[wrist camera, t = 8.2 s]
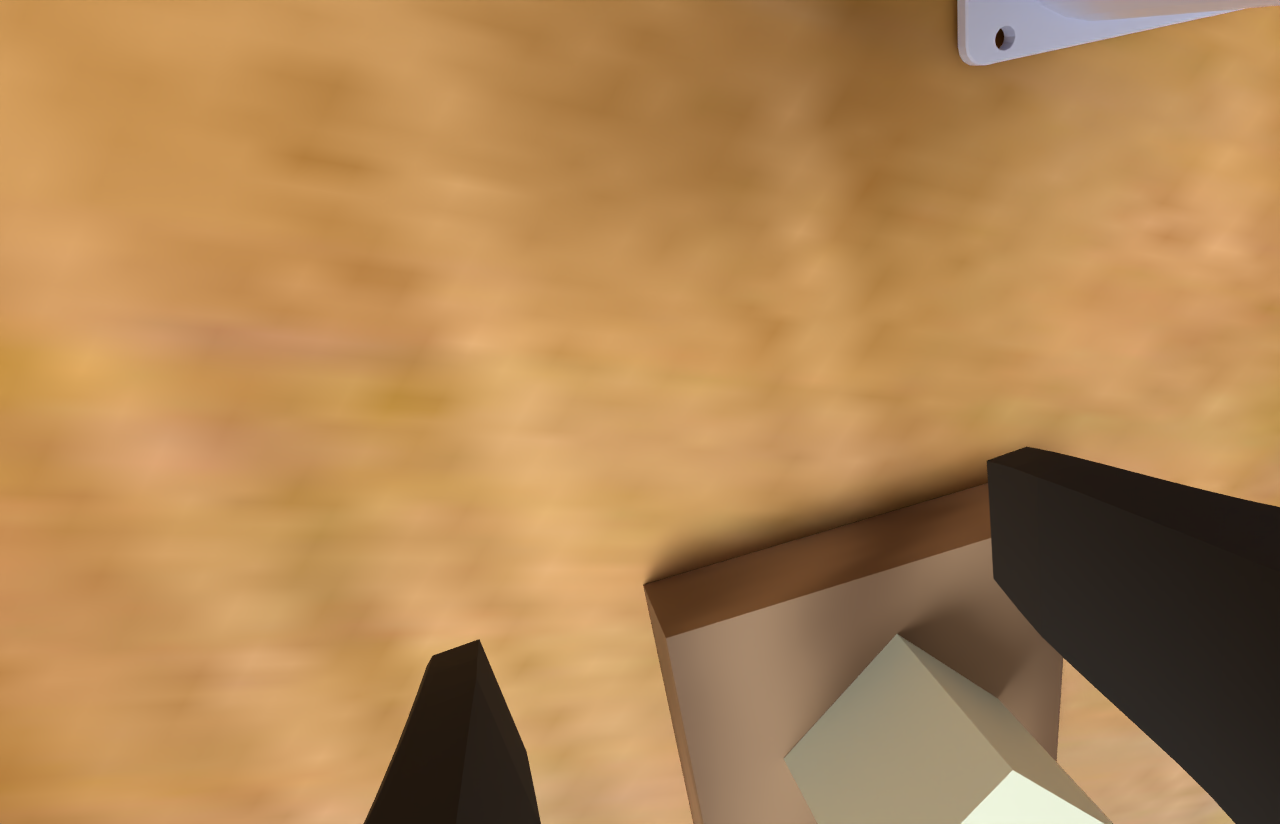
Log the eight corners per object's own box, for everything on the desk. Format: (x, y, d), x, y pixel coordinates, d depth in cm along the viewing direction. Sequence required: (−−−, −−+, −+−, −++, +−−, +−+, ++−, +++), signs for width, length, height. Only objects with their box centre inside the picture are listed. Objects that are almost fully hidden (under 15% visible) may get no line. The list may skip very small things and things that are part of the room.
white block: (897, 633, 23) (1013, 770, 18) (997, 698, 25) (1124, 835, 20) (783, 758, 23) (867, 919, 19) (890, 811, 26) (989, 967, 21)
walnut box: (1003, 466, 25) (1072, 512, 23) (997, 741, 30) (1053, 806, 28) (638, 574, 23) (665, 638, 21) (696, 847, 28) (724, 927, 26)
